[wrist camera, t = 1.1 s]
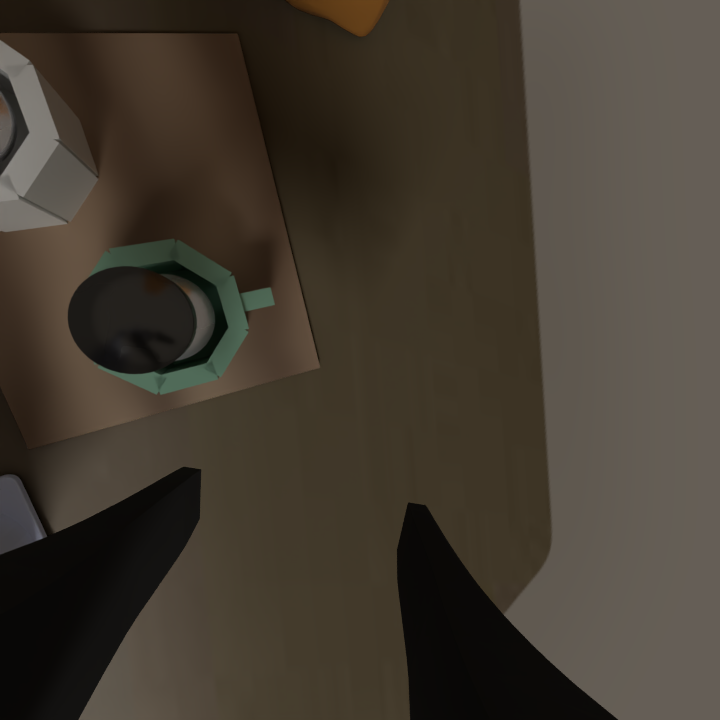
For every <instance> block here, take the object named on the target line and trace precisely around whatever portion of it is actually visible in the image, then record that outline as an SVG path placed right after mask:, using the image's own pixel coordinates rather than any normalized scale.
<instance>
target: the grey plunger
mask: <svg viewBox="0 0 720 720" xmlns="http://www.w3.org/2000/svg"><path fill="white" fill-rule="evenodd" d="M16 138H17V123H16V118H15V115H14V112H13V110H12V107H11V105H10V103H9V102H8V100H7V98H6V97H5V96H4V94H3V93H2V92H1V90H0V163H1V162H2V161H3V160H4V159H6V158H7V157H8V155H9V154H10V153H11V151H12V149H13V148H14V145H15V142H16Z"/></svg>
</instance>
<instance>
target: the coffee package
mask: <svg viewBox="0 0 720 720" xmlns="http://www.w3.org/2000/svg"><path fill="white" fill-rule="evenodd" d="M285 1H286V2H288V3H289V4H290V5H292V6H293V7H294V8H296V9H298V10H300V11H303V12H305V13H308V14H311V15H314V16H318V17H321V18H325V19H328V20H330V21H332V22H333V23H335V24H337V25H339V26H340V27H342V28H343V29H345V30H347V31H348V32H350V33H352V34H354V35H356V36H359V37H362V36H366V35H367V34H369V33H370V32H371V31H372V29H373V28H374V27H375V25H376V23H377V22H378V20H379V19H380V17H381V15H382V13H383V11H384V10H385V8H386V6H387V4H388V2H389V0H285Z"/></svg>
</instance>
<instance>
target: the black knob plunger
mask: <svg viewBox="0 0 720 720" xmlns="http://www.w3.org/2000/svg"><path fill="white" fill-rule="evenodd" d="M68 325H69V329H70V333H71V335H72V337H73V340H74V342H75V343H76V345H77V346H78V348H79V349H80V350H81V351H82V352H83V353H84V354H85V355H86V356H87V357H88V358H89V359H90V360H92V361H93V362H95V363H96V364H98V365H100V366H102V367H104V368H106V369H109V370H111V371H115V372H119V373H124V374H145V373H150V372H154V371H157V370H160V369H162V368H164V367H166V366H168V365H169V364H171V363H172V362H174V361H177V360H182V359H185V358H188V357H190V356H193V355H194V354H196V353H197V352H199V351H200V350H201V349H202V348H203V347H204V346H205V345H206V344H207V343H208V341H209V340H210V338H211V336H212V334H213V331H214V327H215V313H214V309H213V306H212V303H211V302H210V300H209V298H208V297H207V295H206V294H205V293H204V292H203V291H202V289H200V288H199V287H198V286H197V285H195V284H194V283H192V282H191V281H189V280H187V279H185V278H182V277H179V276H175V275H169V274H158V273H156V272H153V271H150V270H148V269H144V268H140V267H133V266H119V267H112V268H108V269H104V270H102V271H99V272H97V273H95V274H93V275H91V276H90V277H88V278H87V279H86V280H84V281H83V282H82V283H81V284H80V285H79V287H78V288H77V289H76V291H75V292H74V294H73V296H72V298H71V300H70V303H69V308H68Z"/></svg>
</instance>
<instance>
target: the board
mask: <svg viewBox="0 0 720 720" xmlns="http://www.w3.org/2000/svg"><path fill="white" fill-rule="evenodd" d="M0 40H1V41H2V42H4V43H5V44H7V45H8V46H9V47H11V48H12V49H14V50H15V51H17V52H18V53H20V54H21V55H22V56H24V57H25V58H27V59H28V60H30V62H31V63H32V64H33V65H34V66H35V68H36V69H37V70H38V71H39V72H40V73H41V75H42V76H43V77H44V78H45V79H46V81H47V82H48V83H49V84H50V85H51V86H52V88H53V89H54V90H55V91H56V92H57V93H58V95H59V96H60V97H61V98H62V99H63V101H64V102H65V103H66V104H67V105H68V106H69V108H70V109H71V110H72V111H73V112H74V114H75V115H76V116H77V117H78V118H79V120H80V122H81V125H82V128H83V131H84V134H85V137H86V140H87V143H88V146H89V149H90V151H91V154H92V157H93V160H94V163H95V166H96V169H97V172H98V175H99V176H96V177H97V178H98V181H97V182H96V184H95V185H94V187H93V189H92V190H91V192H90V193H89V195H88V196H87V198H86V199H85V201H84V202H83V204H82V205H81V207H80V209H79V210H78V212H77V213H76V215H75V216H74V218H73V219H72V221H71V222H69V221H67V220H66V221H67V223H68V224H63V225H56V226H48V227H40V228H33V229H25V230H18V231H10V232H3V231H0V388H1V390H2V392H3V394H4V396H5V399H6V401H7V403H8V405H9V407H10V410H11V412H12V414H13V416H14V418H15V421H16V423H17V425H18V427H19V429H20V432H21V434H22V436H23V438H24V440H25V443H26V445H27V447H28V449H29V450H30V449H33V448H37V447H40V446H44V445H48V444H51V443H55V442H58V441H62V440H65V439H69V438H72V437H76V436H79V435H83V434H87V433H90V432H94V431H97V430H101V429H104V428H108V427H111V426H115V425H118V424H122V423H126V422H129V421H133V420H136V419H140V418H143V417H147V416H150V415H154V414H157V413H161V412H165V411H168V410H172V409H175V408H179V407H182V406H186V405H189V404H193V403H196V402H200V401H204V400H207V399H211V398H214V397H218V396H221V395H225V394H228V393H232V392H235V391H239V390H242V389H246V388H250V387H253V386H257V385H260V384H264V383H267V382H271V381H274V380H278V379H281V378H285V377H289V376H292V375H296V374H299V373H303V372H306V371H310V370H313V369H317V368H320V365H319V361H318V357H317V353H316V349H315V345H314V341H313V337H312V333H311V329H310V324H309V320H308V316H307V312H306V308H305V304H304V300H303V296H302V292H301V288H300V284H299V280H298V276H297V272H296V268H295V264H294V260H293V256H292V251H291V247H290V243H289V239H288V235H287V231H286V227H285V223H284V219H283V215H282V211H281V207H280V203H279V199H278V195H277V191H276V187H275V182H274V178H273V174H272V170H271V166H270V162H269V158H268V154H267V150H266V146H265V142H264V138H263V134H262V130H261V126H260V122H259V118H258V114H257V109H256V105H255V101H254V97H253V93H252V89H251V85H250V81H249V77H248V73H247V69H246V65H245V61H244V57H243V53H242V49H241V45H240V40H239V36H238V33H0ZM168 239H175V240H176V241H177V240H180V241H181V242H183V243H185V244H186V245H188V246H189V247H191V248H193V249H194V250H196V251H197V252H199V253H201V254H202V255H204V256H206V257H207V258H209V259H210V260H212V261H214V262H215V263H217V264H218V265H220V266H222V267H223V268H225V269H227V270H228V271H230V272H231V273H232V275H233V276H234V277H235V281H236V284H237V288H238V292H239V294H240V293H245V292H250V291H255V290H260V289H265V288H271V292H272V295H273V299H274V303H275V305H272V306H268V307H263V308H259V309H254V310H250V311H245V312H244V313H245V316H246V320H247V323H248V327H249V329H248V331H249V332H248V334H247V335H246V337H245V339H244V340H243V342H242V344H241V345H240V347H239V349H238V350H237V352H236V353H235V355H234V357H233V358H232V360H231V362H230V363H229V365H228V367H227V368H226V370H225V372H224V373H223V375H222V377H219V379H218V380H214V381H210V382H207V383H203V384H199V385H196V386H192V387H188V388H184V389H181V390H177V391H173V392H170V393H166V394H162V395H160V392H159V393H158V394H157V395H156V394H154V393H152V392H150V391H148V390H145V389H143V388H141V387H139V386H137V385H134V384H132V383H130V382H128V381H125V380H123V379H121V378H119V377H117V376H114V375H112V374H110V373H108V372H106V371H103V370H101V369H99V368H97V367H98V366H99V365H98V364H96V365H94V362H93V361H92V360H90V359H89V358H88V357H87V356H86V355H85V354H84V353H83V352H82V351H81V350H80V349H79V348H78V346H77V345H76V343H75V342H74V340H73V337H72V335H71V333H70V329H69V325H68V308H69V303H70V300H71V298H72V296H73V294H74V292H75V291H76V289H77V288H78V287H79V285H80V284H81V283H82V282H83V281H84V280H86V279H87V278H88V277H89V276H90V274H91V272H92V271H93V269H94V268H95V266H96V265H97V263H98V261H99V260H100V258H101V257H102V255H103V254H104V252H105V251H107V252H109V253H110V251H109V249H110V248H116V247H123V246H129V245H136V244H142V243H149V242H155V241H162V240H168Z"/></svg>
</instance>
